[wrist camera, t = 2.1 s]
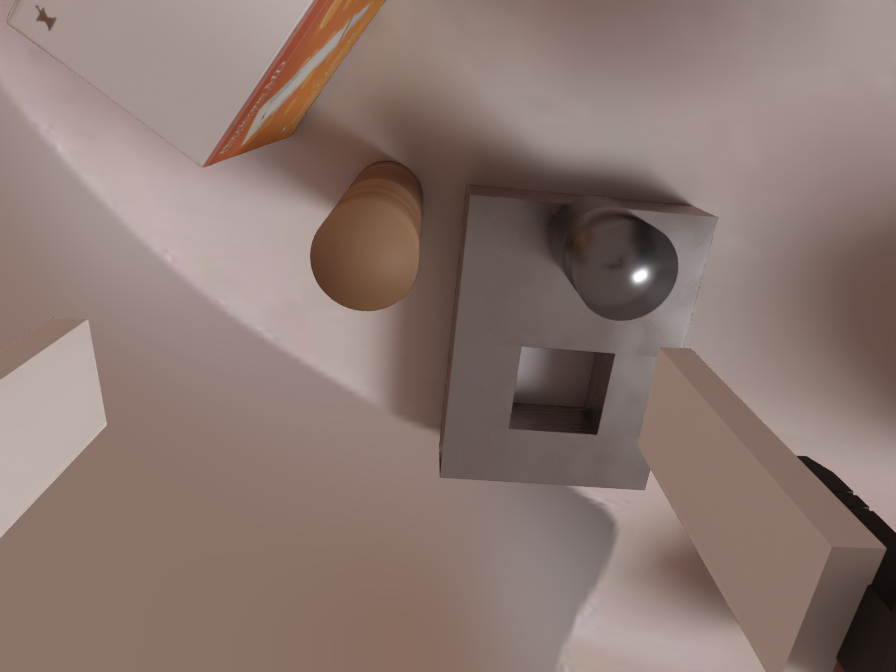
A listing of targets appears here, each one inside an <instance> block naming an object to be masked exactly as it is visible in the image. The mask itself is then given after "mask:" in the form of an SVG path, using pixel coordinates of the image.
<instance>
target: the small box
mask: <svg viewBox="0 0 896 672" xmlns="http://www.w3.org/2000/svg"><path fill="white" fill-rule="evenodd" d="M384 2H385V0H16V2H15V4H14V6H13V8H12V9H11V11H10V13H9V15H8V19H7V22H8V25H9V26H11V27H12V28H13V29H15V30H16V31H18V32H19V33H21V34H22V35H24V36H25V37H26V38H28V39H29V40H30V41H32V42H33V43H35V44H36V45H37V46H39V47H40V48H42V49H43V50H44V51H46V52H47V53H48V54H50V55H51V56H53V57H54V58H55V59H57V60H58V61H60V62H61V63H62V64H64V65H65V66H66V67H68V68H69V69H71V70H72V71H73V72H75V73H76V74H77V75H79V76H80V77H81V78H83V79H84V80H85V81H87V82H88V83H89V84H91V85H92V86H93V87H95V88H96V89H97V90H99V91H100V92H101V93H103V94H104V95H105V96H107V97H108V98H109V99H111V100H112V101H114V102H115V103H116V104H118V105H119V106H120V107H122V108H123V109H124V110H126V111H127V112H128V113H130V114H131V115H132V116H134V117H135V118H137V119H138V120H139V121H141V122H142V123H143V124H145V125H146V126H147V127H149V128H150V129H151V130H153V131H154V132H155V133H157V134H158V135H159V136H161V137H162V138H163V139H164V140H166V141H167V142H168V143H170V144H171V145H173V146H174V147H175V148H177V149H178V150H179V151H181V152H182V153H184V154H185V155H186V156H187V157H189V158H190V159H191V160H193V161H194V162H195V163H196V164H198V165H199V166H200V167H207V166H209V165H212V164H214V163H217V162H219V161H222V160H225V159H228V158H231V157H234V156H236V155H239V154H242V153H245V152H248V151H251V150H253V149H256V148H259V147H261V146H264V145H267V144H270V143H272V142H275V141H279V140H281V139H284V138H287V137H289V136H291V135H292V134H293V133H294V131H295V130H296V128H297V126H298V125H299V123H300V122H301V120H302V118H303V117H304V115H305V114H306V112H307V111H308V109H309V108H310V106H311V105H312V103H313V102H314V100H315V99H316V97H317V96H318V95H319V93H320V92H321V90H322V89H323V87H324V86H325V85H326V83H327V82H328V80H329V79H330V77H331V76H332V74H333V73H334V71H335V70H336V68H337V67H338V66H339V64H340V63H341V61H342V60H343V59H344V57H345V56H346V54H347V53H348V52H349V50H350V49H351V47H352V46H353V45H354V43H355V42H356V41H357V39H358V38H359V36H360V35H361V34H362V32H363V31H364V29H365V28H366V27H367V25H368V24H369V22H370V21H371V20H372V18H373V17H374V15H375V14H376V13H377V11H378V10H379V8H380V7H381V6H382V5H383V3H384Z"/></svg>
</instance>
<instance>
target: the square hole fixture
mask: <svg viewBox="0 0 896 672" xmlns="http://www.w3.org/2000/svg"><path fill="white" fill-rule="evenodd" d="M717 220H718V217H716V216H714V215H712V214H709V213H707V212H705V211H703V210H701V209H699V208H697V207H695V206H690V205H679V204H669V203H658V202H647V201H636V200H626V199H615V198H606V197H603V196H583V195H572V194H561V193H551V192H540V191H529V190H518V189H508V188H497V187H486V186H475V185H467V187H466V197H465V206H464V216H463V225H462V235H461V244H460V254H459V263H458V273H457V282H456V292H455V301H454V311H453V320H452V330H451V339H450V349H449V358H448V368H447V377H446V387H445V396H444V405H443V415H442V424H441V434H440V443H439V467H440V477H441V478H457V479H472V480H488V481H504V482H521V483H536V484H538V483H539V484H553V485H568V486H584V487H600V488H616V489H632V490H645V487H646V484H647V480H648V476H649V472H650V467H649V466H648V464H647V462H646V460H645V459H644V457H643V455H642V453H641V452H640V450H639V448H638V441H639V437H640V432H641V427H642V423H643V418H644V414H645V409H646V405H647V400H648V396H649V391H650V386H651V382H652V377H653V373H654V368H655V364H656V359H657V354H658V350H659V347H669V348H683V346H684V342H685V339H686V335H687V331H688V327H689V324H690V320H691V316H692V313H693V309H694V305H695V301H696V298H697V294H698V290H699V286H700V283H701V279H702V275H703V272H704V268H705V264H706V260H707V257H708V253H709V249H710V246H711V242H712V238H713V234H714V231H715V227H716V223H717ZM521 346H524V347H537V348H550V349H563V350H576V351H589V352H596V356H595V361H594V365H593V370H592V375H591V380H590V384H589V389H588V394H587V399H586V404H585V408H576V407H562V406H548V405H534V404H519V403H513V397H514V391H515V385H516V378H517V372H518V365H519V359H520V352H521Z"/></svg>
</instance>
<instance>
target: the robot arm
mask: <svg viewBox="0 0 896 672" xmlns="http://www.w3.org/2000/svg"><path fill="white" fill-rule="evenodd" d="M106 425H107V423H106V418H105V412H104V406H103V401H102V395H101V390H100V384H99V379H98V373H97V367H96V362H95V356H94V351H93V345H92V339H91V334H90V328H89V323H88V319H75V318H54V317H53V318H51V319H50V320H48V321H46V322H45V323H43V324H41V325H40V326H38V327H37V328H35V329H33V330H32V331H30V332H29V333H27V334H25V335H24V336H22V337H21V338H19V339H18V340H16V341H14V342H13V343H11V344H9V345H8V346H6V347H5V348H3V349H2V350H0V537H1V536H2V535H3V534H4V533H5V532H6V531H7V530H8V529H9V528H10V527H11V526H12V525H13V524H14V523H15V522H16V520H17V519H18V518H19V517H20V516H21V515H22V514H23V513H24V512H25V511H26V510H27V509H28V508H29V507H30V506H31V505H32V503H34V501H35V500H36V499H37V498H38V497H39V496H40V495H41V494H42V493H43V492H44V491H45V490H46V489H47V488H48V487H49V486H50V484H51V483H52V482H53V481H54V480H55V479H56V478H57V477H58V476H59V475H60V474H61V473H62V472H63V471H64V469H66V468H67V466H68V465H69V464H70V463H71V462H72V461H73V460H74V459H75V458H76V457H77V456H78V455H79V454H80V453H81V451H83V450H84V448H85V447H86V446H87V445H88V444H89V443H90V442H91V441H92V440H93V439H94V438H95V437H96V436H97V435H98V433H100V432H101V430H102V429H103V428H104V427H105V426H106ZM638 448H639V450H640V452H641V453H642V455H643V457H644V459H645V460H646V462H647V464H648V466H649V467H650V469H651V471H652V473H653V474H654V476H655V478H656V480H657V481H658V483H659V485H660V487H661V488H662V490H663V492H664V494H665V495H666V497H667V499H668V501H669V502H670V504H671V506H672V508H673V509H674V511H675V513H676V515H677V516H678V518H679V520H680V522H681V523H682V525H683V527H684V529H685V531H686V532H687V534H688V536H689V538H690V539H691V541H692V543H693V545H694V546H695V548H696V550H697V552H698V553H699V555H700V557H701V559H702V560H703V562H704V564H705V566H706V567H707V569H708V571H709V573H710V574H711V576H712V578H713V580H714V581H715V583H716V585H717V587H718V588H719V590H720V592H721V594H722V595H723V597H724V599H725V601H726V602H727V604H728V606H729V608H730V609H731V611H732V613H733V615H734V616H735V618H736V620H737V622H738V623H739V625H740V627H741V629H742V630H743V632H744V634H745V636H746V637H747V639H748V641H749V643H750V644H751V646H752V648H753V650H754V651H755V653H756V655H757V657H758V658H759V660H760V662H761V664H762V665H763V667H764V669H765V671H766V672H833V669H834V667H835V665H836V663H837V660H838V662H839V663H840V665H841V666H842V668H843V669H844V670H845V672H896V533H895V532H894V531H893V530H892V529H891V528H890V527H889V526H888V525H887V524H886V523H885V522H884V521H883V520H882V519H881V518H880V517H879V516H878V515H877V514H876V513H875V512H874V511H870V510H869V506H868V505H866V504H865V503H864V502H863V501H862V500H861V499H860V498H859V497H858V496H857V495H853V491H852V490H851V489H850V488H849V487H848V486H847V485H846V484H845V483H844V482H843V481H842V480H841V479H840V478H839V477H838V476H836V475H835V474H834V473H833V472H832V471H830V470H828V469H827V468H825V467H823V466H822V465H820V464H818V463H817V462H815V461H813V460H812V459H810V458H809V457H807V456H796V455H795V454H794V453H793V452H792V451H791V450H790V449H789V448H788V447H787V446H786V445H785V444H784V443H783V442H782V441H781V440H780V439H779V438H778V437H777V436H776V435H775V434H774V433H773V432H772V431H771V430H770V429H769V428H768V427H767V426H766V425H765V424H764V423H763V422H762V421H761V420H760V419H759V418H758V417H757V416H756V415H755V414H754V412H753V411H752V410H751V409H750V408H749V407H748V406H747V405H746V404H745V403H744V402H743V401H742V400H741V399H740V398H739V397H738V396H737V395H736V394H735V393H734V392H733V391H732V390H731V389H730V388H729V387H728V386H727V385H726V384H725V383H724V382H723V381H722V380H721V379H720V378H719V377H718V376H717V375H716V374H715V373H714V372H713V371H712V370H711V369H710V368H709V367H708V366H707V365H706V364H705V363H704V361H703V360H702V359H701V358H700V357H699V356H698V355H697V354H696V353H695V352H694V351H693V350H692V349H690V348H669V347H659V350H658V354H657V359H656V364H655V368H654V373H653V377H652V382H651V386H650V391H649V396H648V400H647V405H646V409H645V414H644V418H643V423H642V427H641V432H640V437H639V441H638Z"/></svg>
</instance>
